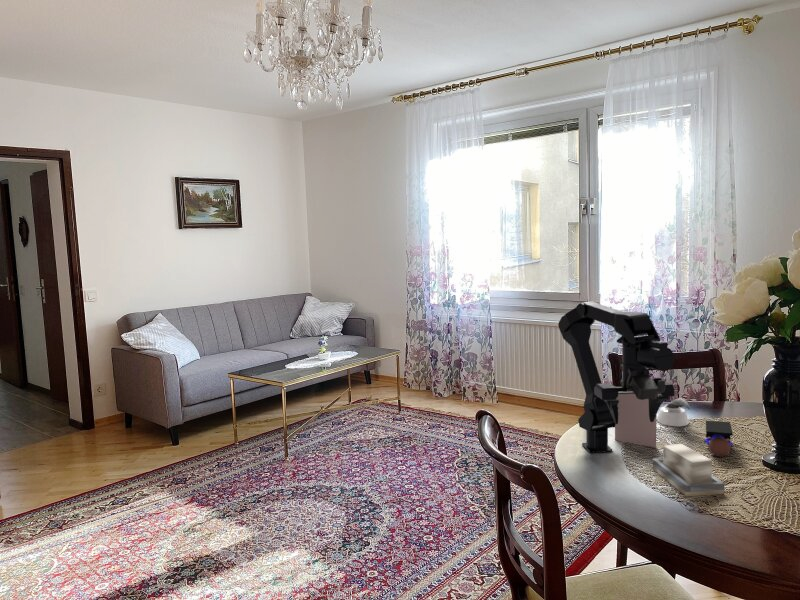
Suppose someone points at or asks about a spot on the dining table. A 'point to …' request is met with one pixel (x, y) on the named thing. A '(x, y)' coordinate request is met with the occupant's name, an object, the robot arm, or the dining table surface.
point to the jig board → (685, 488)
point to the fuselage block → (687, 464)
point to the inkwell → (674, 413)
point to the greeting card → (635, 421)
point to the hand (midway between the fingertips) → (633, 422)
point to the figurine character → (718, 437)
